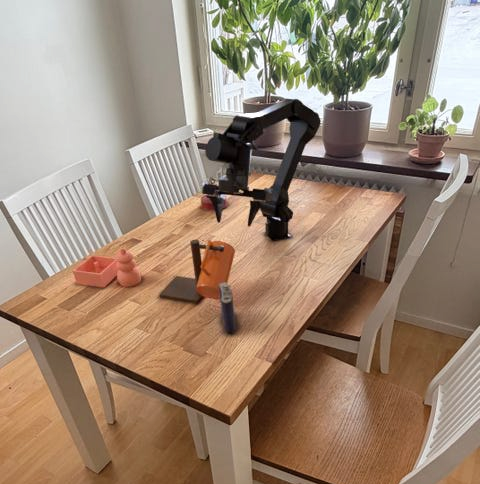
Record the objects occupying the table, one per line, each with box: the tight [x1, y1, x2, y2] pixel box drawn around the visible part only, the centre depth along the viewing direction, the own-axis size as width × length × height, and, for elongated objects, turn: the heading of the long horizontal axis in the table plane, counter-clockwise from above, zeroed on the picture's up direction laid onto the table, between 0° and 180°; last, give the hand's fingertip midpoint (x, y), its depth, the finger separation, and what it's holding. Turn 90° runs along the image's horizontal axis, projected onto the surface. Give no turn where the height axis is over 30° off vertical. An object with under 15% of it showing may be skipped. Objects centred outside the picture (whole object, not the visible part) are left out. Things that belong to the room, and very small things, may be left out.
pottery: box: [72, 248, 142, 288], centre depth 122 cm, size 18×10×10 cm, turn 72°
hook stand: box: [158, 239, 224, 304], centre depth 112 cm, size 10×18×15 cm, turn 70°
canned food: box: [200, 181, 228, 212], centre depth 164 cm, size 11×10×10 cm
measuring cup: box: [196, 239, 236, 300], centre depth 109 cm, size 11×7×13 cm
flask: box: [219, 283, 237, 336], centre depth 101 cm, size 9×3×11 cm, turn 8°
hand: (233, 224), depth 121 cm, fingers open, 9 cm apart
